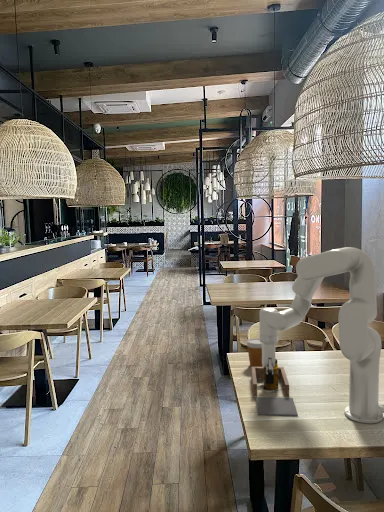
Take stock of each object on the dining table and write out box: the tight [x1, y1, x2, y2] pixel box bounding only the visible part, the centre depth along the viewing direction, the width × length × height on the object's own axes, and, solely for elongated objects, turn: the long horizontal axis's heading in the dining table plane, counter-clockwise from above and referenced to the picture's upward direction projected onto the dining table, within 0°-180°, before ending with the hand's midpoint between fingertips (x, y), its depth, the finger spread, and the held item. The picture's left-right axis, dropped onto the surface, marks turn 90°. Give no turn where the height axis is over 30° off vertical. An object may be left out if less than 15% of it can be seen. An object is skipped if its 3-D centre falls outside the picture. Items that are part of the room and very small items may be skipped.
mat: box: [255, 396, 299, 417], centre depth 155 cm, size 14×14×1 cm
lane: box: [250, 366, 290, 398], centre depth 173 cm, size 14×20×5 cm
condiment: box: [257, 358, 283, 394], centre depth 172 cm, size 7×8×12 cm
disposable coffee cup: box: [246, 338, 263, 368], centre depth 198 cm, size 10×10×12 cm
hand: (269, 379), depth 172 cm, fingers closed on condiment, 6 cm apart
